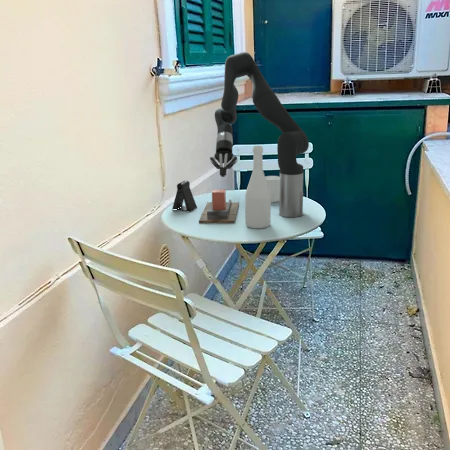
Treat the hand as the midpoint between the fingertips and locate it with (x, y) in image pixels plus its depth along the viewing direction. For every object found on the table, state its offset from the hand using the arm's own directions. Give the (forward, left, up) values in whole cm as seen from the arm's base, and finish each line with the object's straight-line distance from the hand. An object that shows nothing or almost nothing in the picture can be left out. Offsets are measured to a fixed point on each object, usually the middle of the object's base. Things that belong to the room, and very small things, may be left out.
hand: (222, 175), depth 196 cm
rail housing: (0, +17, -12) cm, 21 cm away
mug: (-20, -4, -12) cm, 24 cm away
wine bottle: (-16, +32, -12) cm, 38 cm away
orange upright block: (0, +19, -11) cm, 22 cm away
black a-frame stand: (+16, +11, -12) cm, 23 cm away
